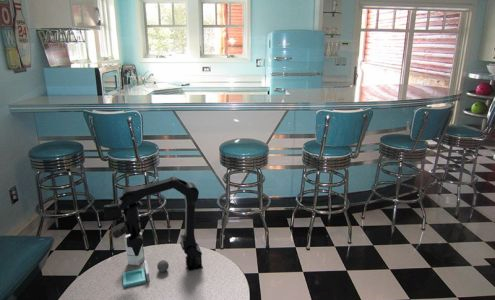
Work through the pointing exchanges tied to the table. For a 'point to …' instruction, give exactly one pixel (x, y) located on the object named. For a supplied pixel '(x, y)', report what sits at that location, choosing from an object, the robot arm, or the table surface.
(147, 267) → the gray flat board
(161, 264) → the ball
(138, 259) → the syrup box
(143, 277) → the coaster
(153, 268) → the table surface
